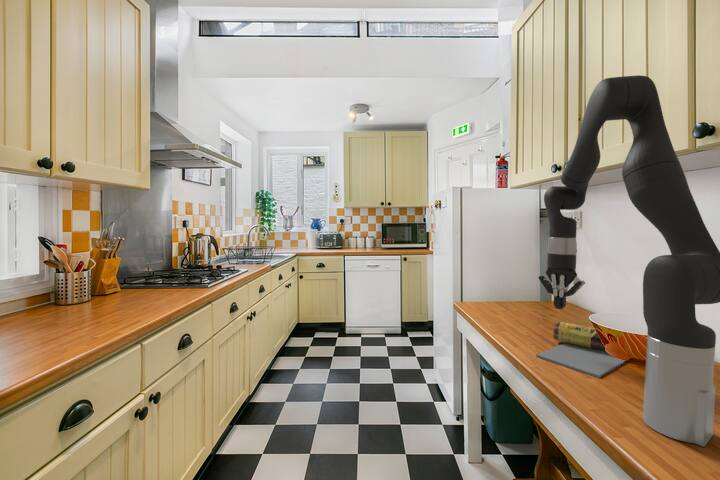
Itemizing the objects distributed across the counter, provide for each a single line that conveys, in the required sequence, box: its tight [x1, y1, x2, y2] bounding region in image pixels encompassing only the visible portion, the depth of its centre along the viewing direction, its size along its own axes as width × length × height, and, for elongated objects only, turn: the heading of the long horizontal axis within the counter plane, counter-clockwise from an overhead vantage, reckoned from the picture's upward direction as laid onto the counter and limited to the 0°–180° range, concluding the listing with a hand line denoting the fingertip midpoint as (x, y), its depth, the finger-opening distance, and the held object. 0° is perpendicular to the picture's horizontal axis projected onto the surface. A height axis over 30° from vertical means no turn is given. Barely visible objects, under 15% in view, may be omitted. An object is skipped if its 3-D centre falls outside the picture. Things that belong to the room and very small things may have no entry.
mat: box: [535, 342, 626, 379], centre depth 97 cm, size 16×22×1 cm
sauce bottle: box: [552, 321, 605, 350], centre depth 104 cm, size 6×6×20 cm
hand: (559, 308), depth 102 cm, fingers closed
